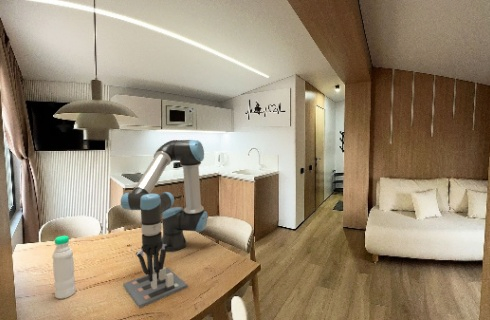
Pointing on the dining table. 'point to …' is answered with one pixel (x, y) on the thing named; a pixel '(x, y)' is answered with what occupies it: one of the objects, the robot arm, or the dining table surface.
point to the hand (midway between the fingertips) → (154, 287)
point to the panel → (151, 289)
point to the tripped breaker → (169, 281)
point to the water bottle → (63, 268)
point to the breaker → (162, 275)
